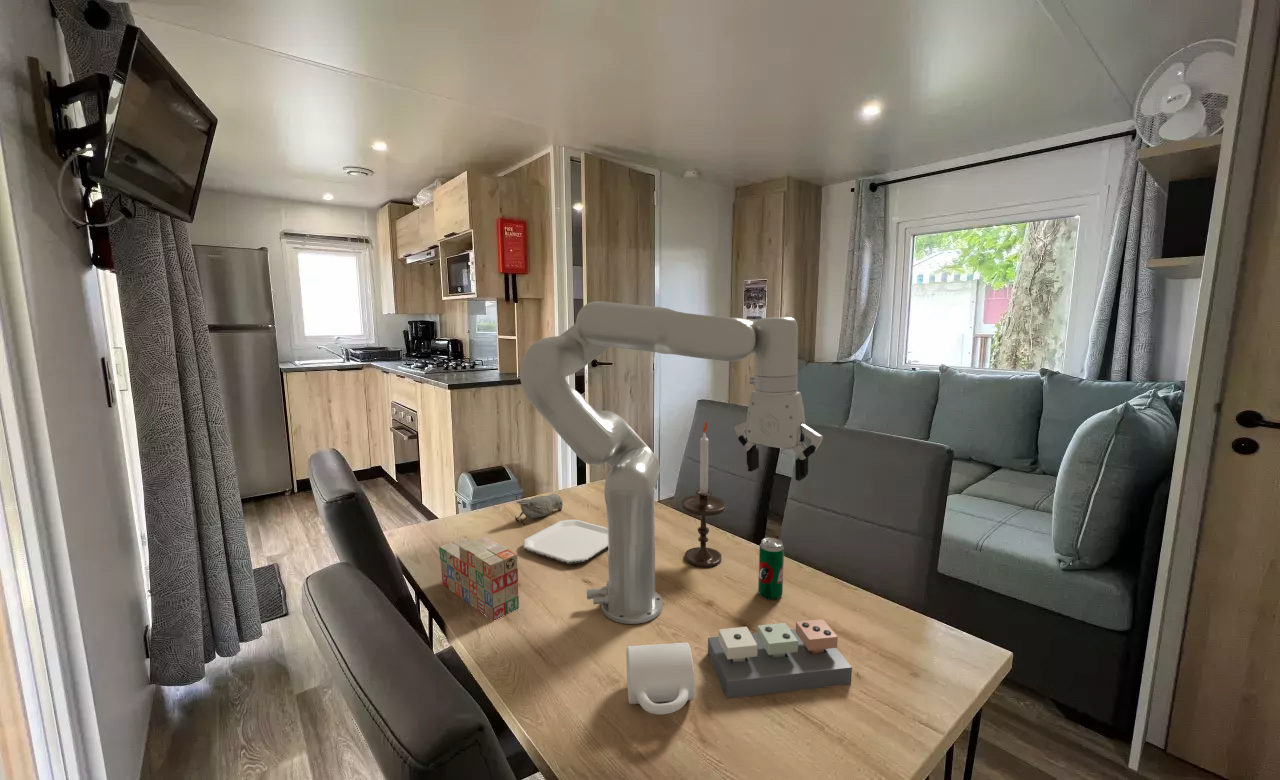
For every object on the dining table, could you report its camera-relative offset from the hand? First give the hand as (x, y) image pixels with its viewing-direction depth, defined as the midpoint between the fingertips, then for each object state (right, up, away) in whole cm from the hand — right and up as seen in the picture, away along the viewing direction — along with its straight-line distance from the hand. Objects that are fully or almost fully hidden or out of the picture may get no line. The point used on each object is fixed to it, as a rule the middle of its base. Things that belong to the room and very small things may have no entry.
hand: (776, 474), depth 96 cm
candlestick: (-10, -26, +30) cm, 41 cm away
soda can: (+2, -28, +13) cm, 31 cm away
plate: (-44, -25, +38) cm, 63 cm away
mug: (-23, -33, -17) cm, 44 cm away
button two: (-3, -30, -10) cm, 32 cm away
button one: (-9, -30, -11) cm, 33 cm away
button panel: (-2, -32, -9) cm, 33 cm away
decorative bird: (-56, -23, +56) cm, 82 cm away
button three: (+4, -30, -9) cm, 31 cm away
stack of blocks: (-61, -29, +14) cm, 69 cm away
